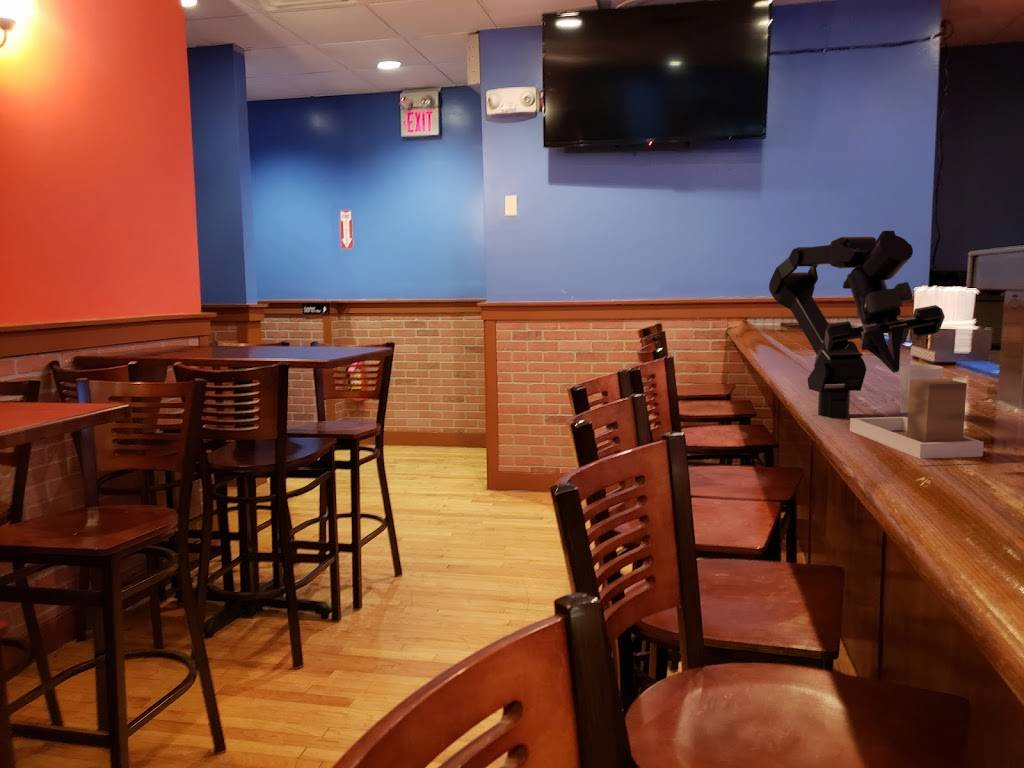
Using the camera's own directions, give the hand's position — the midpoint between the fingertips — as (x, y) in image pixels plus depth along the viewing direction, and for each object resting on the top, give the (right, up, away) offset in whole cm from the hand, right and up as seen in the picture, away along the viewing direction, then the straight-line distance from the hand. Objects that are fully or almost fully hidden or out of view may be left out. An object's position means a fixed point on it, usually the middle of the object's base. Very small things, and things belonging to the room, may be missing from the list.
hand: (896, 371), depth 132 cm
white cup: (+18, -9, +27) cm, 33 cm away
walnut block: (+1, -13, -10) cm, 16 cm away
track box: (+1, -13, -4) cm, 14 cm away
